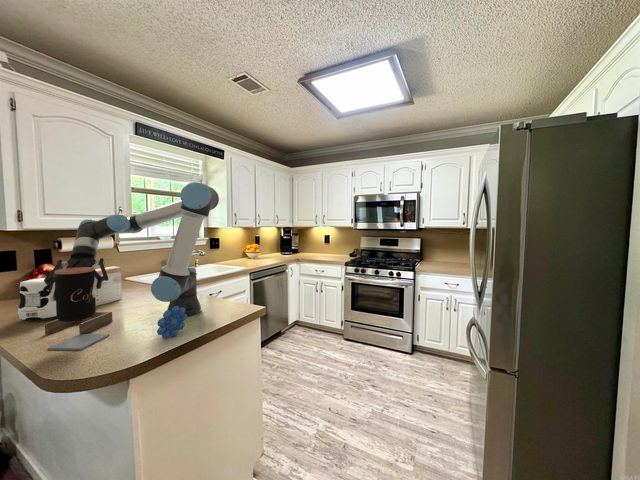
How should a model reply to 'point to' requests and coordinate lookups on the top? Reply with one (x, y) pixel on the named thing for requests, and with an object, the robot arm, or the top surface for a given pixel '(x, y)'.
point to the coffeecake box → (109, 286)
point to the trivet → (79, 342)
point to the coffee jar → (74, 293)
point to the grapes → (171, 322)
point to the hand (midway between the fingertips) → (73, 297)
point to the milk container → (36, 301)
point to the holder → (85, 327)
